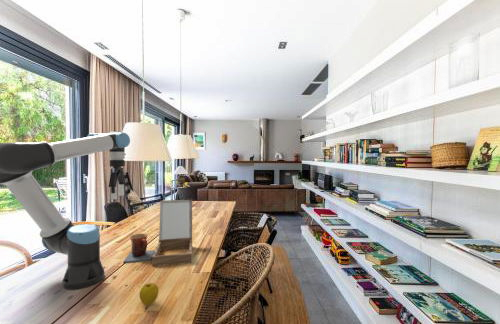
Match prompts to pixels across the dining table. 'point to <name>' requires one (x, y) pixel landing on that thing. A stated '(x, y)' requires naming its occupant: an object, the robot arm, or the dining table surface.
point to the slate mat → (145, 257)
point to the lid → (175, 219)
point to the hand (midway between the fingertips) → (117, 197)
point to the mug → (139, 244)
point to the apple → (149, 293)
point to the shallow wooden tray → (172, 258)
